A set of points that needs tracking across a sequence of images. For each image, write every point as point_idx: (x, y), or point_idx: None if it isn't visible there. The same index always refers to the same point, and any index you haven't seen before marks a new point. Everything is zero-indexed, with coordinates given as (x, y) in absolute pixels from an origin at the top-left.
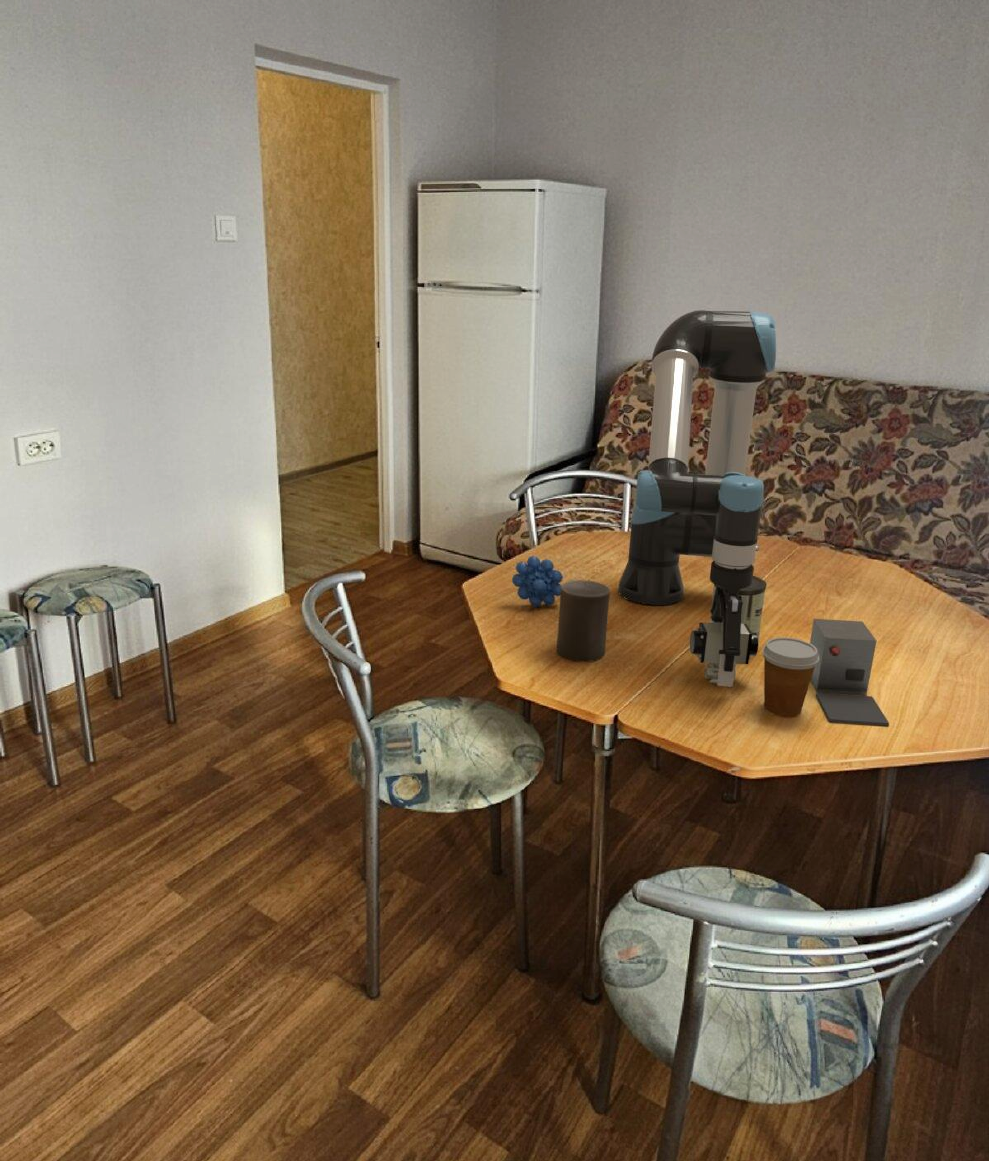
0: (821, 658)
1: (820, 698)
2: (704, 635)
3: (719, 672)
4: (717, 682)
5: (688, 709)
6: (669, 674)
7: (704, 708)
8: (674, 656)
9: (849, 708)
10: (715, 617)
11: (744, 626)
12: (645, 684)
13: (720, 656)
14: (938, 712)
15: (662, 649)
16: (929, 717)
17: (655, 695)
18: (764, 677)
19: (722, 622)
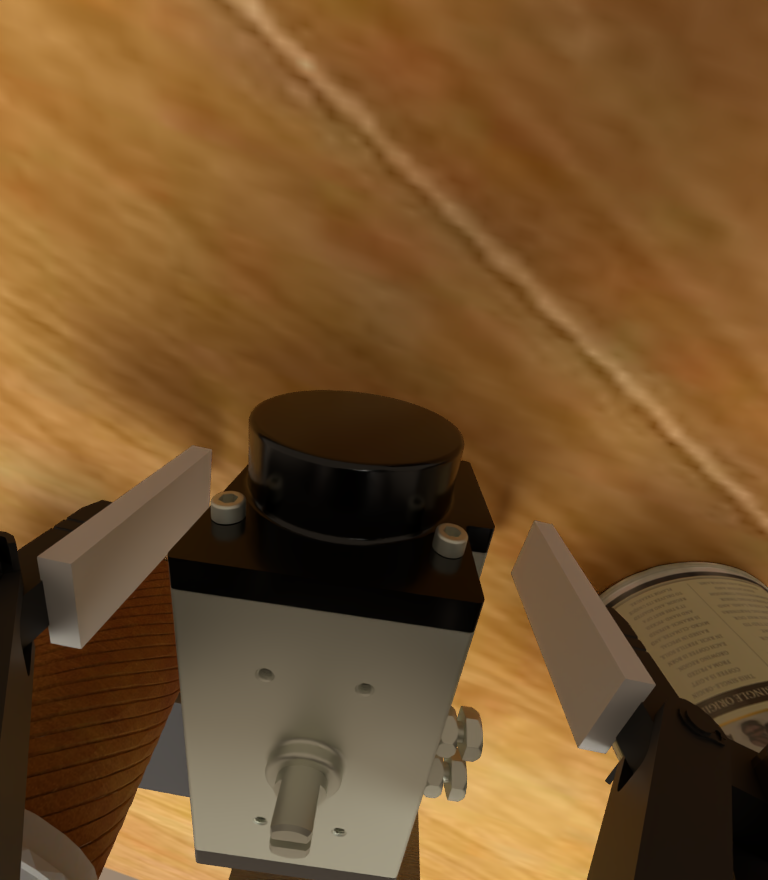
0: (236, 872)
1: None
2: (185, 536)
3: (148, 477)
4: (201, 452)
5: (84, 259)
6: (451, 282)
7: (109, 339)
8: (645, 377)
9: (162, 745)
10: (648, 757)
11: (336, 868)
12: (343, 85)
13: (103, 535)
14: (192, 858)
15: (749, 340)
16: (165, 839)
17: (209, 112)
18: (56, 647)
19: (737, 713)
